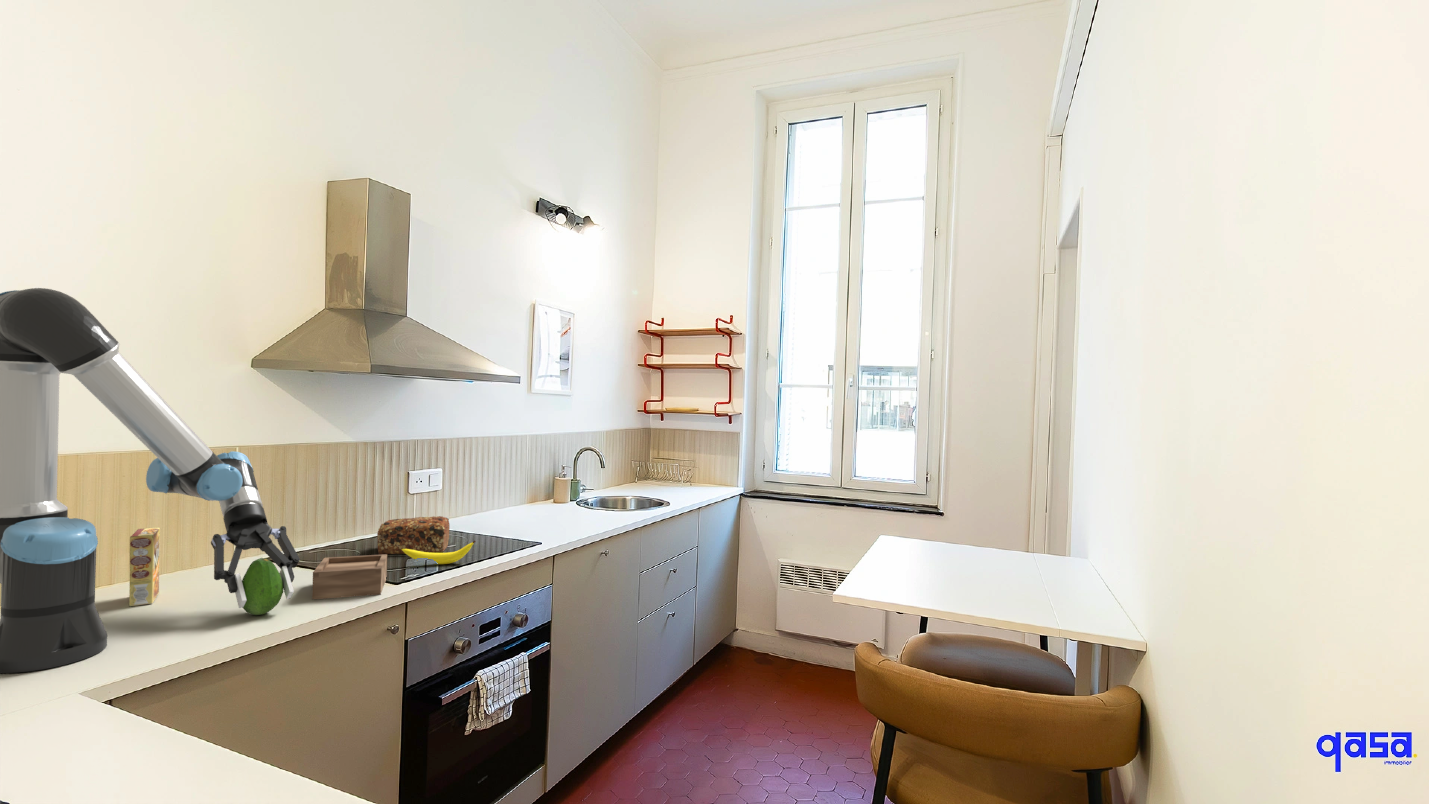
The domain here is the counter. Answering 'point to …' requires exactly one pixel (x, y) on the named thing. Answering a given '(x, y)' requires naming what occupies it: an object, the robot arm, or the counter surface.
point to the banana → (440, 555)
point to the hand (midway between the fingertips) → (267, 599)
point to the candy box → (144, 566)
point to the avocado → (262, 587)
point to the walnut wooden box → (349, 576)
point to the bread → (413, 535)
